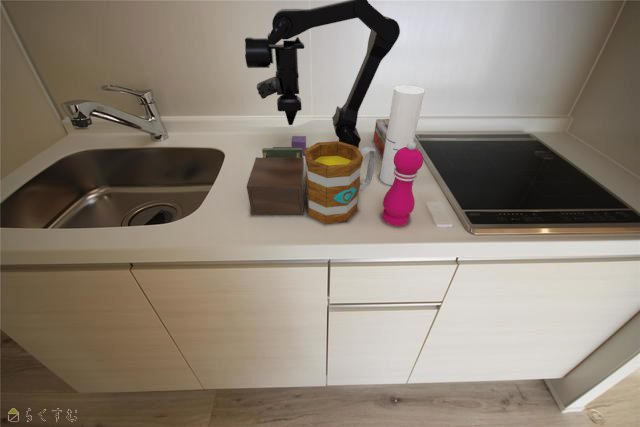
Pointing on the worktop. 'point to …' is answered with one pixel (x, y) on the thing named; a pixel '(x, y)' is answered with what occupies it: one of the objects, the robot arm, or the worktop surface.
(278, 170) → the cabinet
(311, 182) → the mug
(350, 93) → the robot arm
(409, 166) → the pepper mill
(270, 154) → the drawer
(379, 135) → the medicine box
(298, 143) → the block
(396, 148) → the cylindrical container
